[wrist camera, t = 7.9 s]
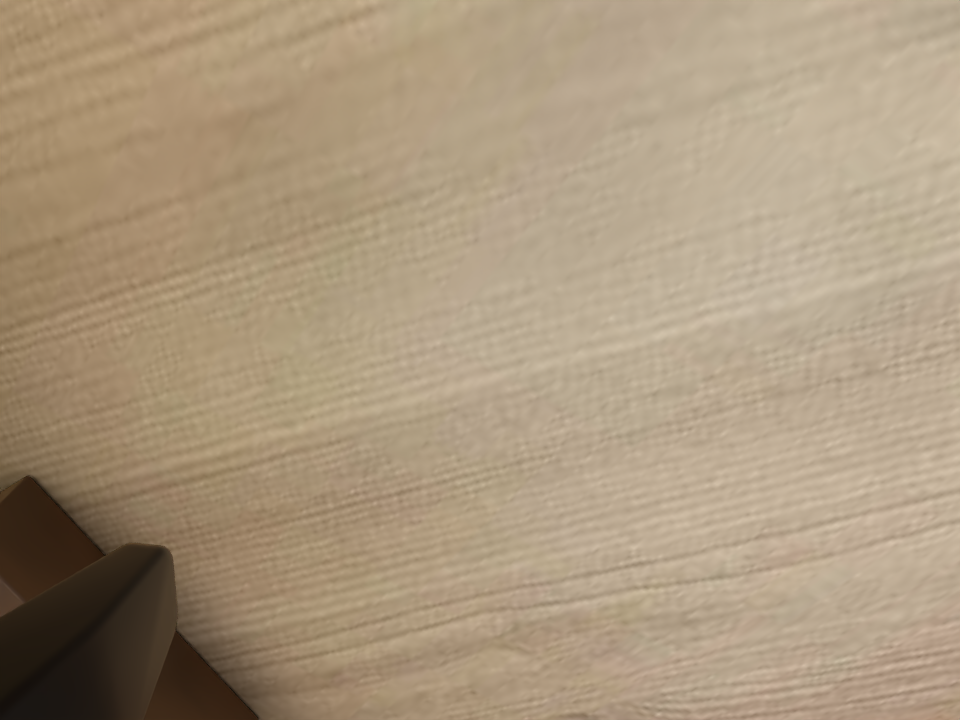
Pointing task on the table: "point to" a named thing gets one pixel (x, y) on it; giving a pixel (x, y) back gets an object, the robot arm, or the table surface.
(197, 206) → the table surface
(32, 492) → the brown flat block
